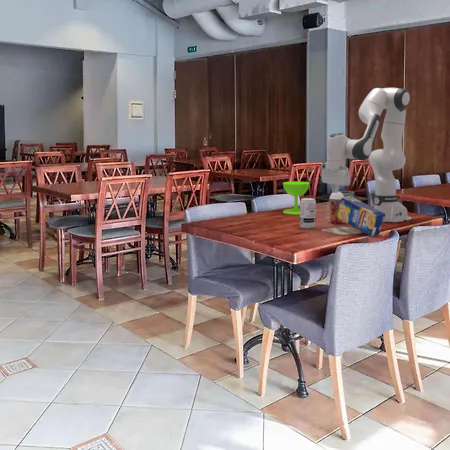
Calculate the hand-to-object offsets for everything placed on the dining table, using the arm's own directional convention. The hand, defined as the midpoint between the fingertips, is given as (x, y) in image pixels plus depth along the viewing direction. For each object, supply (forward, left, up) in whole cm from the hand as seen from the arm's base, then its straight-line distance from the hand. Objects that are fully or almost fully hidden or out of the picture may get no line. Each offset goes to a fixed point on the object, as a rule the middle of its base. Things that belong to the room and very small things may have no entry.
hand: (335, 193), depth 287 cm
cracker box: (-2, +4, -7) cm, 8 cm away
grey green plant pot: (-40, -45, -19) cm, 63 cm away
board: (0, +8, -19) cm, 20 cm away
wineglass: (-12, -57, -19) cm, 62 cm away
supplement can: (+9, -11, -19) cm, 24 cm away
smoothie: (-12, -15, -19) cm, 27 cm away
